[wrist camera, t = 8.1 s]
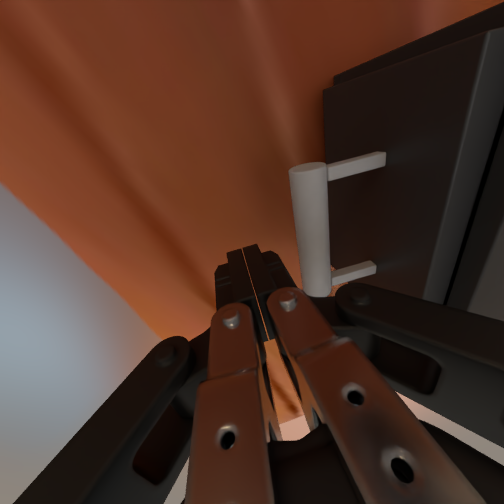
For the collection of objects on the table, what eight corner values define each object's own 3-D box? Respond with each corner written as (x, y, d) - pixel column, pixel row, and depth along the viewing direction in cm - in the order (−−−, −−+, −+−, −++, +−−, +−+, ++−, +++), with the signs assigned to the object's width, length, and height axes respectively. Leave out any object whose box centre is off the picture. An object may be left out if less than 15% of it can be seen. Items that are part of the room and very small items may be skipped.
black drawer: (282, 277, 19) (334, 375, 11) (252, 107, 13) (320, 70, 5) (480, 220, 20) (650, 274, 12) (542, 36, 14) (965, -85, 6)
